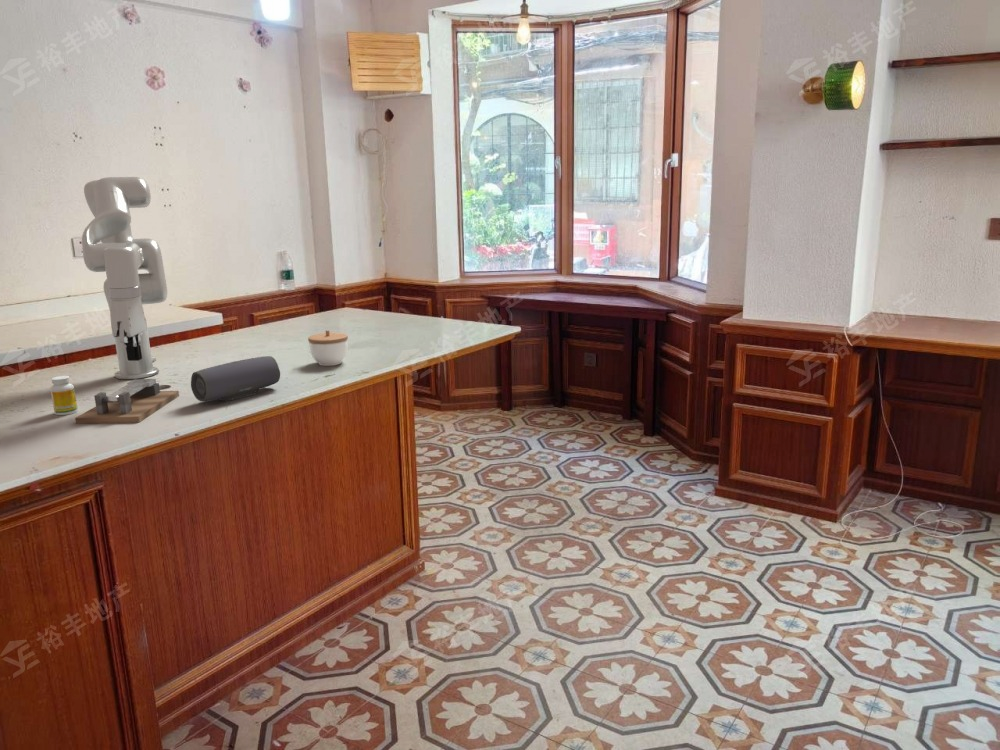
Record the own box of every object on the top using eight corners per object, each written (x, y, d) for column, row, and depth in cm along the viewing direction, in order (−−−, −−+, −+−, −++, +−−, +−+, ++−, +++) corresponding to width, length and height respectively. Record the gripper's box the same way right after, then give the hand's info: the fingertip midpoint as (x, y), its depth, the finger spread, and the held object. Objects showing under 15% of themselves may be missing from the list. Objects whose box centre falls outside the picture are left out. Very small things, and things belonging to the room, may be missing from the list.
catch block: (135, 393, 206) (133, 383, 206) (160, 392, 206) (158, 383, 206) (130, 396, 203) (128, 386, 203) (155, 395, 203) (154, 386, 203)
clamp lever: (134, 384, 205) (133, 378, 205) (156, 383, 205) (155, 378, 205) (99, 403, 187) (98, 397, 187) (123, 403, 187) (122, 396, 187)
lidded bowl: (340, 368, 236) (337, 334, 233) (303, 367, 238) (300, 334, 236) (355, 359, 248) (353, 327, 245) (320, 358, 250) (317, 326, 248)
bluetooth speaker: (264, 385, 218) (260, 352, 215) (283, 389, 212) (279, 356, 210) (191, 403, 201) (187, 367, 199) (209, 408, 195) (205, 372, 193)
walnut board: (122, 397, 208) (119, 374, 207) (179, 395, 208) (176, 373, 207) (75, 423, 185) (71, 398, 183) (139, 422, 185) (135, 397, 183)
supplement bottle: (51, 413, 194) (45, 377, 192) (74, 408, 198) (68, 373, 196) (58, 417, 191) (52, 381, 188) (81, 412, 195) (75, 377, 192)
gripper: (124, 288, 202) (134, 353, 208) (96, 298, 188) (107, 367, 193) (151, 288, 202) (160, 352, 208) (125, 298, 188) (136, 367, 193)
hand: (135, 359), depth 200 cm, fingers closed
